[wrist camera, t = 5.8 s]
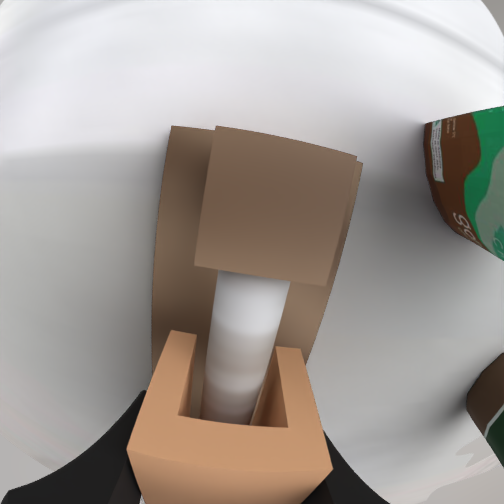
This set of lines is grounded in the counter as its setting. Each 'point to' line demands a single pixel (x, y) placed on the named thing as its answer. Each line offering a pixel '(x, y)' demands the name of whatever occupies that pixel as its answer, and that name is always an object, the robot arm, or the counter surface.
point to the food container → (469, 175)
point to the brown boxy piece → (246, 255)
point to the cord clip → (228, 438)
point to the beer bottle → (489, 405)
